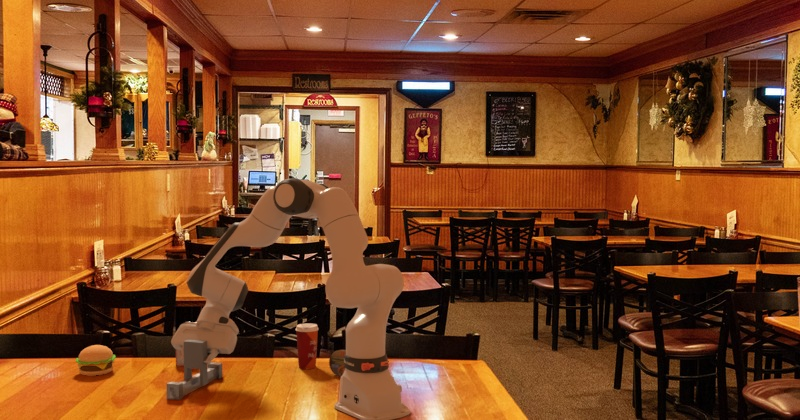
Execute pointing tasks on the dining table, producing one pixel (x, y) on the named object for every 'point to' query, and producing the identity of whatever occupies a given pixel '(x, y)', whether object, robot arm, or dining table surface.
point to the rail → (192, 382)
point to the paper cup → (307, 345)
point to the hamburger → (95, 360)
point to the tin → (337, 362)
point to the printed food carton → (178, 356)
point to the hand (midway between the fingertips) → (194, 362)
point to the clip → (195, 359)
